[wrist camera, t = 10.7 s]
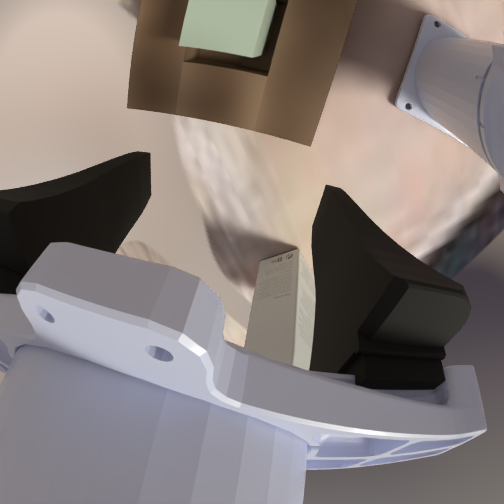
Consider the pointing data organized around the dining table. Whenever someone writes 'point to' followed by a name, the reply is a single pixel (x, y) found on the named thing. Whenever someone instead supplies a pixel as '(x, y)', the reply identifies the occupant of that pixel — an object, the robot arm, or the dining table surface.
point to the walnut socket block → (242, 69)
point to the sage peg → (229, 25)
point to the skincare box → (283, 310)
